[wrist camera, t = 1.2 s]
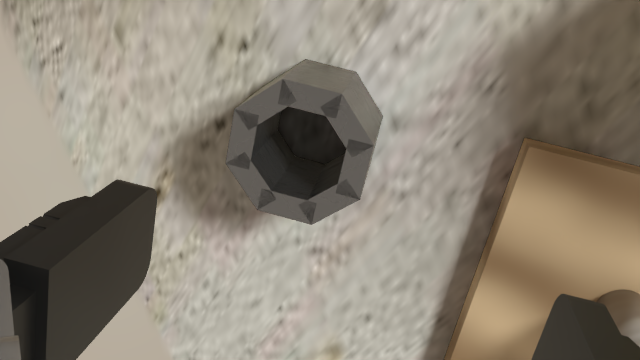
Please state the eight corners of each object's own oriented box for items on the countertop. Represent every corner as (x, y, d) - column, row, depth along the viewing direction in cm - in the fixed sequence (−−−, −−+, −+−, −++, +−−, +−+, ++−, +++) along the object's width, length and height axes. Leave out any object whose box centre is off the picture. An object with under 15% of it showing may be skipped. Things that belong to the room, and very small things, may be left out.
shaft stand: (524, 137, 29) (548, 185, 23) (821, 213, 28) (928, 283, 22) (442, 363, 34) (444, 450, 28) (689, 435, 33) (745, 540, 27)
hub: (270, 50, 30) (241, 68, 25) (392, 81, 29) (384, 104, 25) (250, 164, 32) (219, 199, 28) (362, 194, 32) (350, 235, 27)
